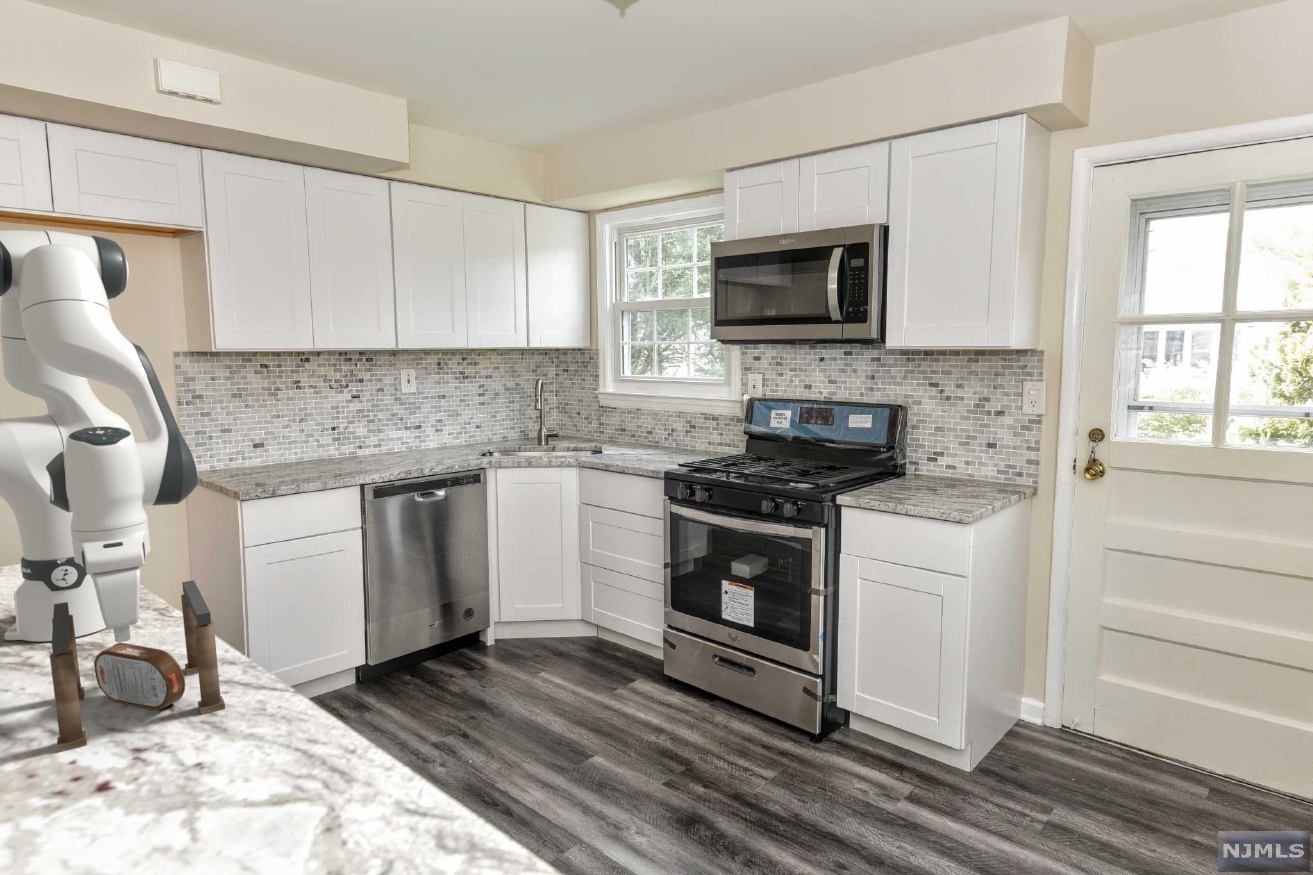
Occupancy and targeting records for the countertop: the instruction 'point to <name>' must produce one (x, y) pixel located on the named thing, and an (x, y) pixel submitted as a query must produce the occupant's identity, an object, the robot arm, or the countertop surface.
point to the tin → (139, 676)
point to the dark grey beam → (196, 603)
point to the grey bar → (60, 629)
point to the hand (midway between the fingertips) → (122, 638)
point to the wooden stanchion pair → (71, 692)
